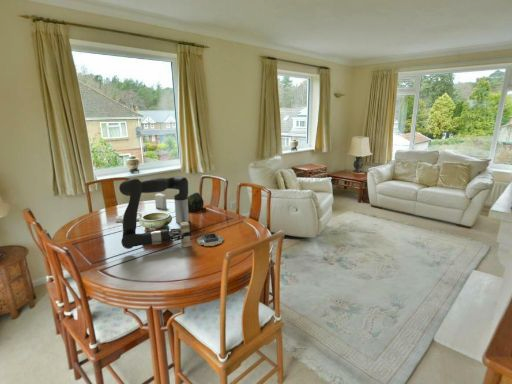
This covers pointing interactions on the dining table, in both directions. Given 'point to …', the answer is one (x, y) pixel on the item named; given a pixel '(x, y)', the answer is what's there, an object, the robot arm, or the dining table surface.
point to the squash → (195, 202)
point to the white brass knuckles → (120, 218)
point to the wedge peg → (183, 229)
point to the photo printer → (160, 201)
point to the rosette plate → (209, 239)
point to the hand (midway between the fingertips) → (189, 232)
